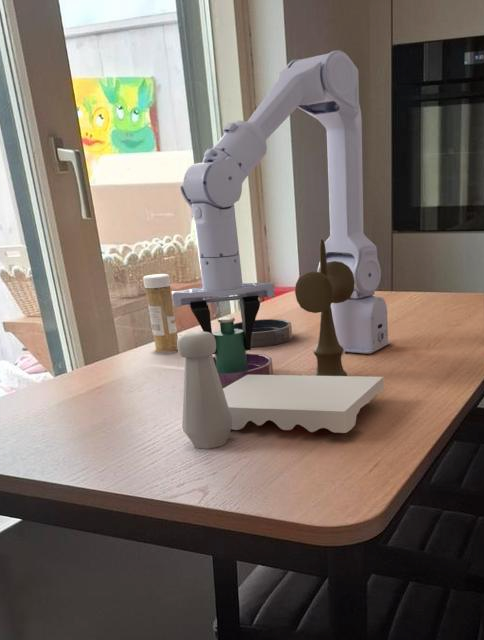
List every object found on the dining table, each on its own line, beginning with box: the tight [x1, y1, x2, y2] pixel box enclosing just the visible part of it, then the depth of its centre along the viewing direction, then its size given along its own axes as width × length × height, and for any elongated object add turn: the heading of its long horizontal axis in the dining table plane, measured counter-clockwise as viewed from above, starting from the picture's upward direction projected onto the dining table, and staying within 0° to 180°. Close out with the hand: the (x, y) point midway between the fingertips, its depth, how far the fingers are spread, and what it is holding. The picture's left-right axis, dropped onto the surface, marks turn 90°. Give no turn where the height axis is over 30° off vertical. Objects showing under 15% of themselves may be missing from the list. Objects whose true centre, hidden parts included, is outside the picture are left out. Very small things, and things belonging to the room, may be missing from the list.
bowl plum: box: [213, 352, 274, 388], centre depth 105 cm, size 12×12×3 cm
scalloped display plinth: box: [223, 374, 384, 434], centre depth 90 cm, size 15×3×20 cm
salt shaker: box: [177, 330, 232, 450], centre depth 80 cm, size 6×6×13 cm
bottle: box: [212, 316, 248, 373], centre depth 104 cm, size 5×5×8 cm
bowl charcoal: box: [234, 318, 293, 348], centre depth 130 cm, size 12×12×3 cm
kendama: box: [294, 239, 355, 376], centre depth 99 cm, size 6×10×20 cm, turn 160°
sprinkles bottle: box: [142, 273, 179, 353], centre depth 125 cm, size 5×5×13 cm
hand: (230, 350), depth 104 cm, fingers closed on bottle, 4 cm apart
